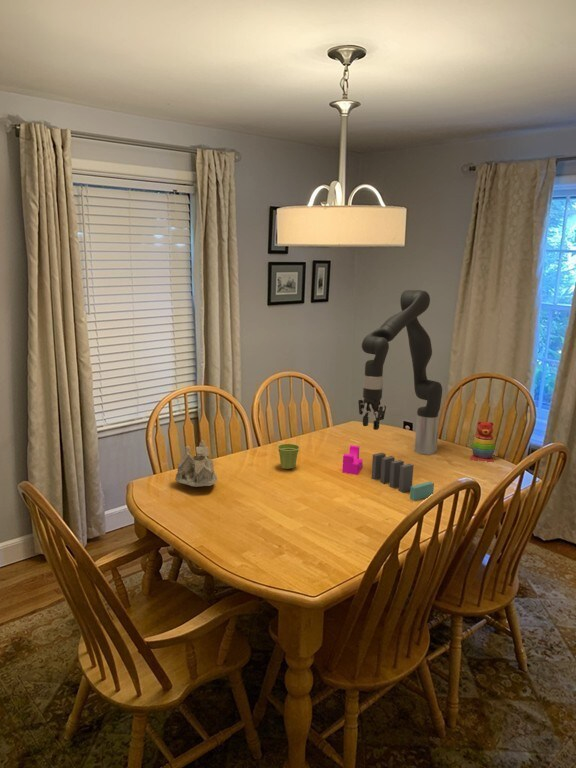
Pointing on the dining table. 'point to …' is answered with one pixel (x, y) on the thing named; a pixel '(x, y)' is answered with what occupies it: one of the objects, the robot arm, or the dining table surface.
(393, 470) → the domino
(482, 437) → the stacking bear
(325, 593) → the dining table surface
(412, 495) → the domino
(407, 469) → the domino
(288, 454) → the plant pot
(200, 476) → the ceramic cottage
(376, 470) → the domino
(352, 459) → the toy block
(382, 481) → the domino
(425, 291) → the robot arm
